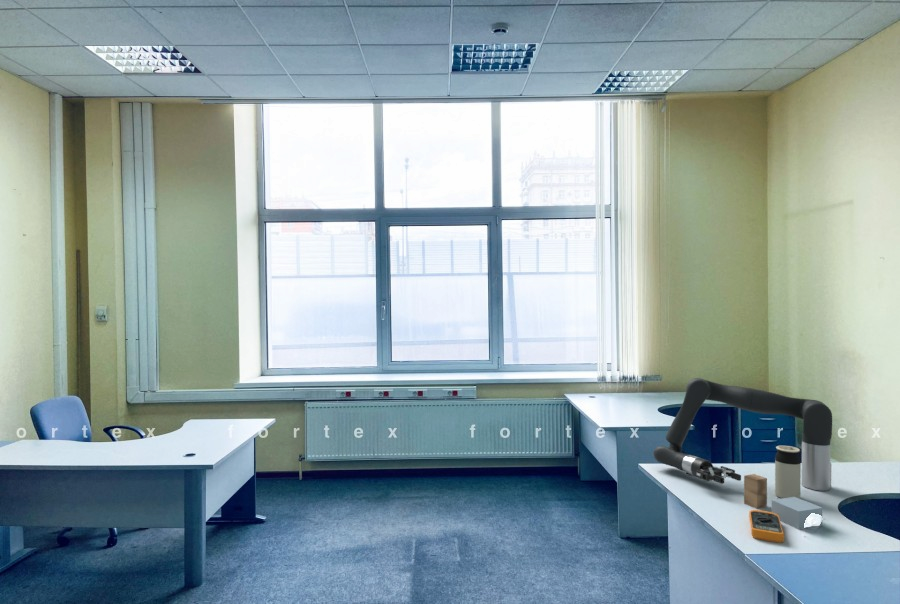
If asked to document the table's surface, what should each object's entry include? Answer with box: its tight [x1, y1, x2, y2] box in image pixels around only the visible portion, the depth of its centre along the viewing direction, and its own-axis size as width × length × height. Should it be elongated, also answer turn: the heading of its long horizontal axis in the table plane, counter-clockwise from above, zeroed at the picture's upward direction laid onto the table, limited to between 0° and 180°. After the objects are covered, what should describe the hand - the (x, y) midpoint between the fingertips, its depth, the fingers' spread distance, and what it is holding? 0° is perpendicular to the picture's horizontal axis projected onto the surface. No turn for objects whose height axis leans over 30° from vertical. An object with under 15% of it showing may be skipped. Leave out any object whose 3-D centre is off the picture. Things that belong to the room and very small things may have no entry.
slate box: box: [771, 497, 823, 530], centre depth 178 cm, size 10×10×6 cm
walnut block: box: [743, 473, 768, 510], centre depth 192 cm, size 5×5×10 cm
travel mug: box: [774, 445, 802, 499], centre depth 200 cm, size 8×8×18 cm
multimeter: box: [748, 509, 785, 544], centre depth 172 cm, size 9×18×3 cm, turn 153°
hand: (732, 479), depth 201 cm, fingers open, 8 cm apart
